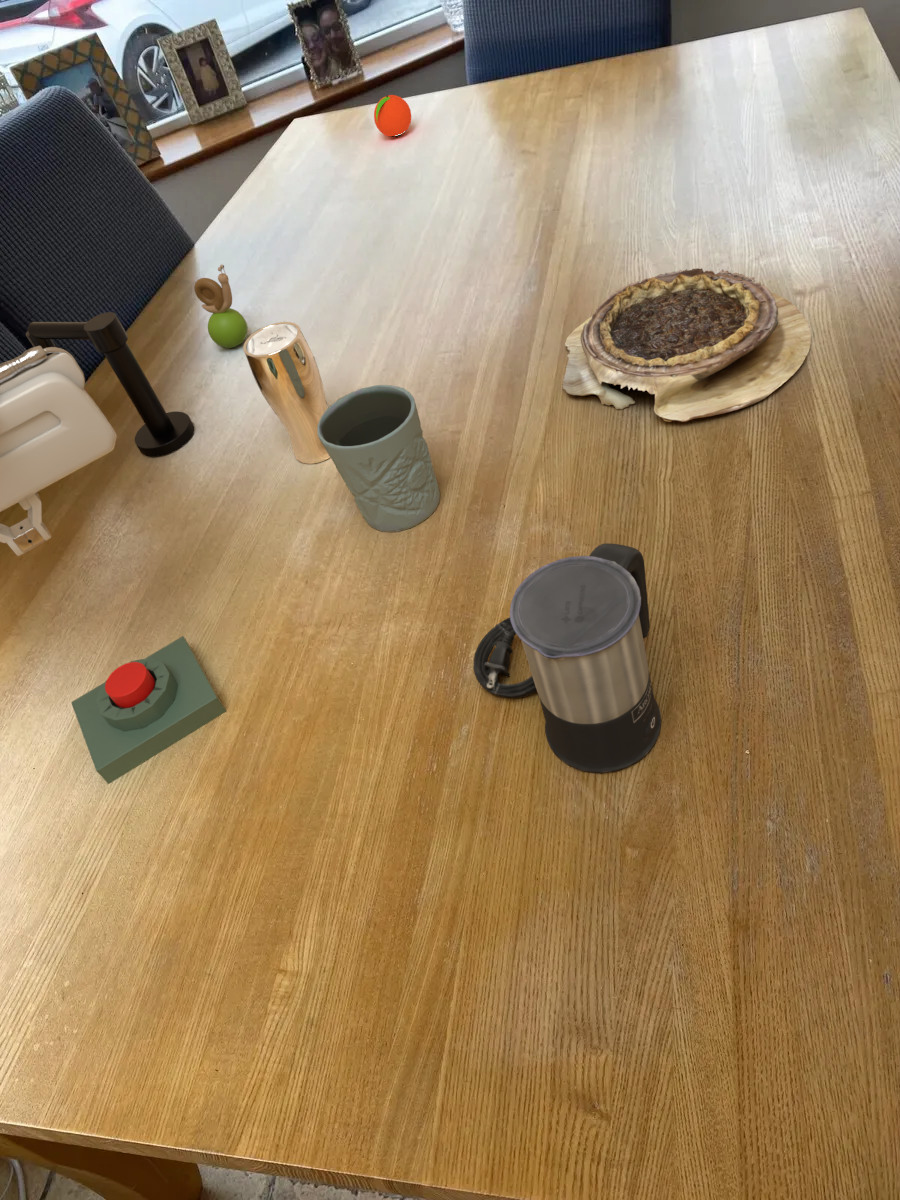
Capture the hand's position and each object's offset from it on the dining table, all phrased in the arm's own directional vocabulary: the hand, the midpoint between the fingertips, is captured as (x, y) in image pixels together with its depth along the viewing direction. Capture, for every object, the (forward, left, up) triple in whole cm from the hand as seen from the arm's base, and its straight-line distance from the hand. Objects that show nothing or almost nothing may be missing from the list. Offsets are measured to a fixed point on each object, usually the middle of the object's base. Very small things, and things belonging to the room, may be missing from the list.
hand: (33, 543), depth 75 cm
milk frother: (+29, -26, -21) cm, 45 cm away
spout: (+12, +47, -10) cm, 50 cm away
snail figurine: (+31, +57, -21) cm, 68 cm away
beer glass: (+29, +24, -21) cm, 43 cm away
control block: (-1, -1, -21) cm, 21 cm away
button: (-1, -1, -17) cm, 17 cm away
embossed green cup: (+31, +7, -21) cm, 38 cm away
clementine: (+82, +101, -21) cm, 132 cm away
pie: (+68, +5, -21) cm, 72 cm away
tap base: (+15, +43, -21) cm, 50 cm away
